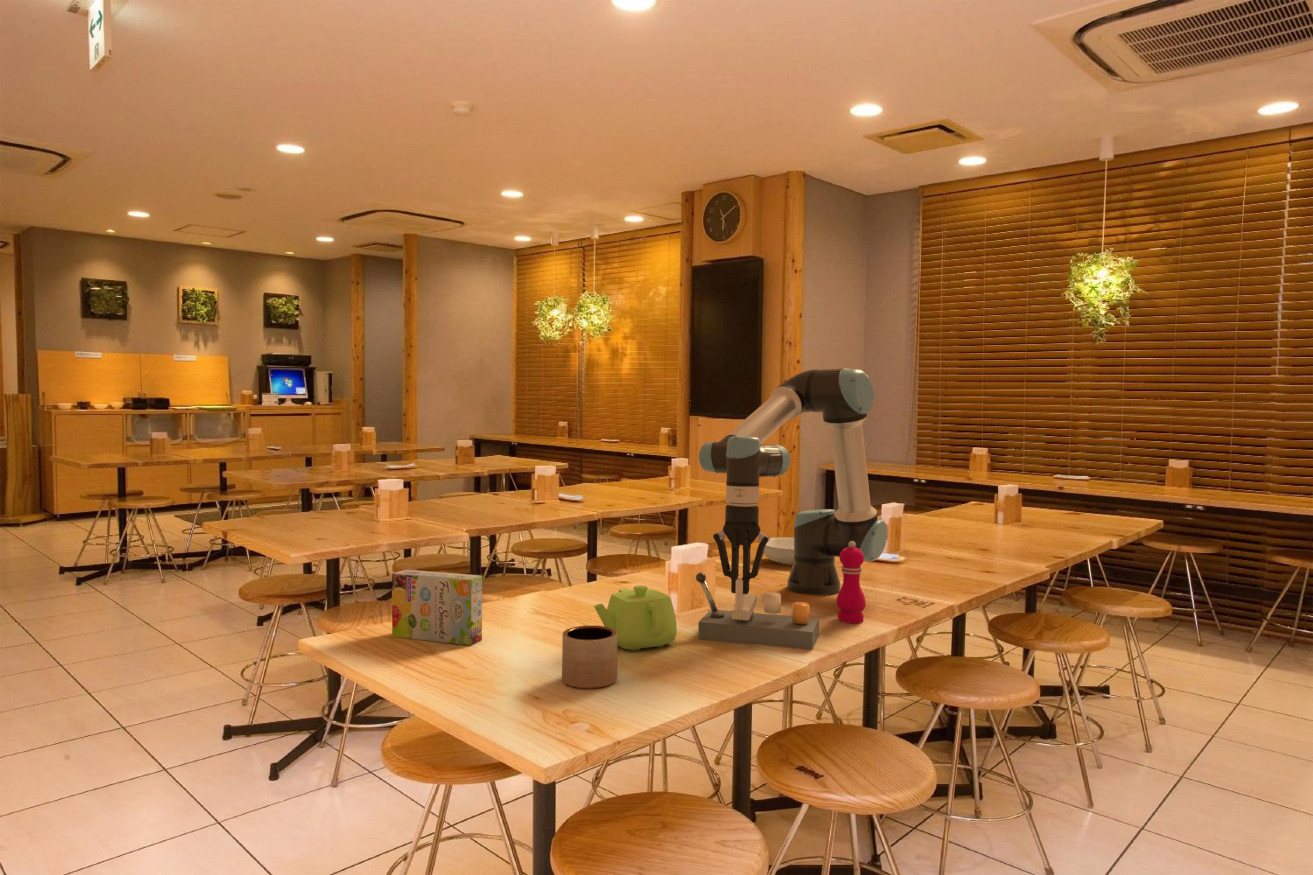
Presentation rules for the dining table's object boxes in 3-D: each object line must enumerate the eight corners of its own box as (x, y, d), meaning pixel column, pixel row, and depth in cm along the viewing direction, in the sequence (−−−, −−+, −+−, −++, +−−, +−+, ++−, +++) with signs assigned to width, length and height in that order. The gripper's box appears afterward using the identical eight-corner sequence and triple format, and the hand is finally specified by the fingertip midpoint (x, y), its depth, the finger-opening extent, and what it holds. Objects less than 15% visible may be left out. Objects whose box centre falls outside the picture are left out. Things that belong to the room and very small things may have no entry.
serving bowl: (759, 567, 272) (759, 546, 271) (761, 555, 292) (762, 536, 292) (824, 570, 268) (824, 549, 268) (822, 558, 289) (822, 538, 289)
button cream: (765, 608, 194) (765, 591, 194) (781, 609, 193) (782, 592, 193) (762, 612, 190) (762, 595, 190) (779, 614, 189) (779, 596, 189)
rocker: (740, 600, 199) (740, 592, 198) (757, 601, 198) (756, 593, 197) (731, 618, 190) (731, 609, 189) (748, 620, 188) (748, 611, 188)
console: (711, 625, 203) (711, 601, 202) (818, 635, 195) (819, 610, 194) (698, 638, 191) (698, 613, 191) (812, 649, 183) (812, 623, 183)
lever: (712, 612, 197) (695, 573, 198) (721, 608, 197) (704, 570, 198) (709, 614, 195) (693, 575, 196) (718, 611, 194) (701, 572, 195)
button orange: (793, 618, 192) (793, 601, 192) (810, 619, 191) (810, 602, 191) (790, 622, 189) (791, 605, 188) (807, 624, 187) (808, 606, 187)
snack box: (483, 639, 190) (483, 574, 189) (470, 646, 184) (470, 579, 184) (405, 630, 197) (404, 567, 196) (390, 637, 191) (389, 572, 191)
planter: (562, 672, 168) (562, 625, 167) (616, 670, 169) (616, 624, 168) (561, 691, 157) (561, 641, 156) (618, 689, 158) (618, 640, 157)
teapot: (613, 663, 174) (613, 601, 173) (577, 638, 191) (577, 582, 191) (689, 651, 182) (690, 592, 181) (648, 628, 200) (648, 575, 199)
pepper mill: (866, 624, 204) (867, 544, 203) (836, 623, 205) (837, 542, 204) (864, 617, 211) (866, 539, 210) (835, 615, 212) (837, 538, 211)
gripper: (710, 504, 187) (707, 608, 187) (767, 507, 183) (765, 613, 183) (717, 501, 194) (715, 601, 194) (773, 504, 190) (771, 606, 190)
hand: (739, 607), depth 189 cm, fingers closed
